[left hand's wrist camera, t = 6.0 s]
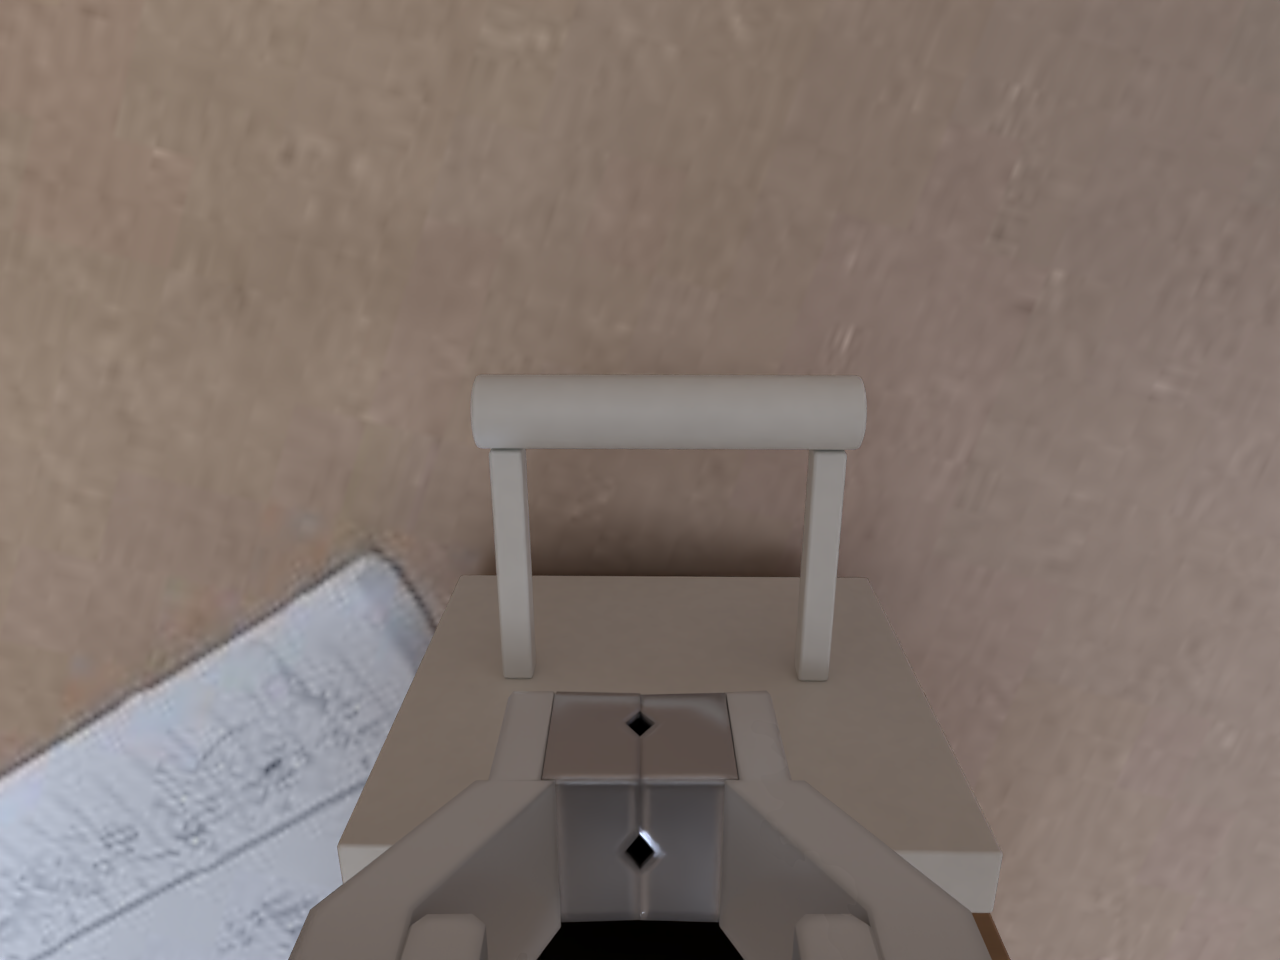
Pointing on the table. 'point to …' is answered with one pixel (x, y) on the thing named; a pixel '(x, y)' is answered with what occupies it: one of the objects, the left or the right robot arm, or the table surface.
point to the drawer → (681, 641)
